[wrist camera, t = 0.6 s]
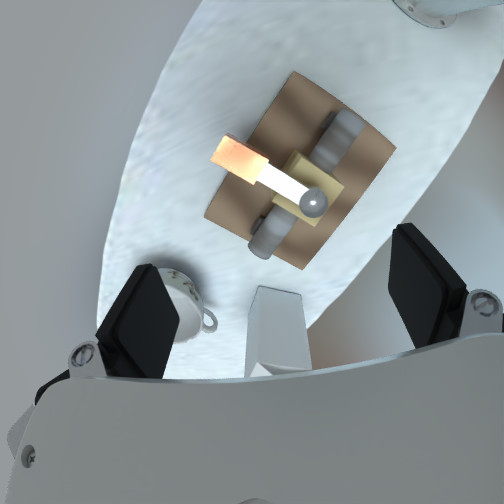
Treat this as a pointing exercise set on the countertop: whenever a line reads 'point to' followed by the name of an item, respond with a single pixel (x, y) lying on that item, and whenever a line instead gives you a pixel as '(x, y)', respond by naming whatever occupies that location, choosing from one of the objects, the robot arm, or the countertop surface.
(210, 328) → the teacup
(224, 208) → the stand
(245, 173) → the valve lever
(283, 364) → the milk carton
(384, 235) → the countertop surface
